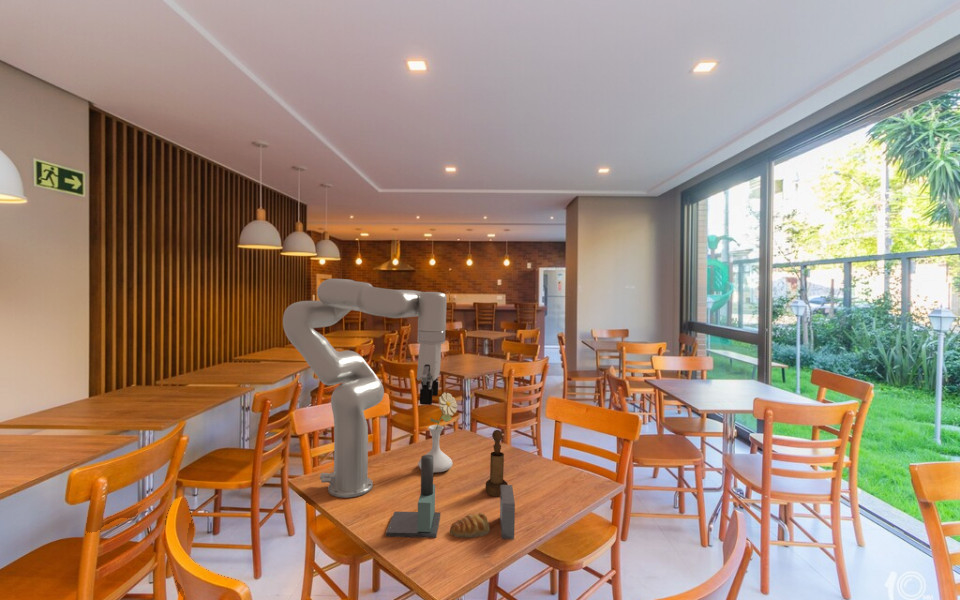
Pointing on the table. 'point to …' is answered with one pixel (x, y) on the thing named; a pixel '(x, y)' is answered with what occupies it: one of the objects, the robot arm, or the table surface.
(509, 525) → the block
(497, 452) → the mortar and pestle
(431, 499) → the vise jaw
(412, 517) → the dark grey flat plate
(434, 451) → the flower in vase
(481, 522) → the pastry
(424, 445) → the table surface
